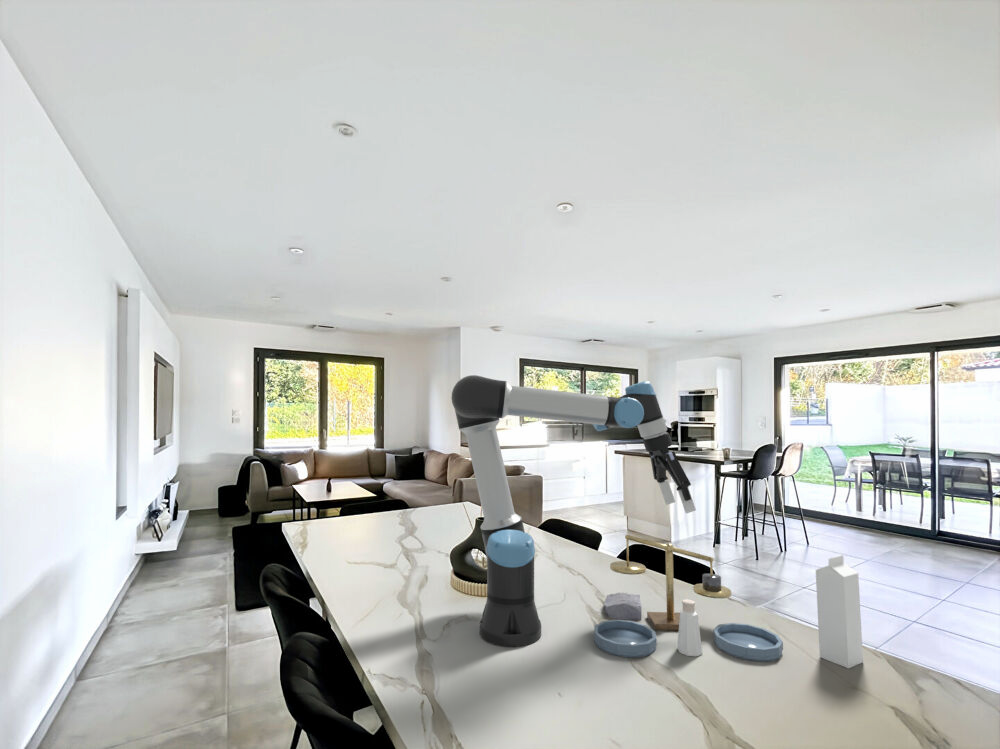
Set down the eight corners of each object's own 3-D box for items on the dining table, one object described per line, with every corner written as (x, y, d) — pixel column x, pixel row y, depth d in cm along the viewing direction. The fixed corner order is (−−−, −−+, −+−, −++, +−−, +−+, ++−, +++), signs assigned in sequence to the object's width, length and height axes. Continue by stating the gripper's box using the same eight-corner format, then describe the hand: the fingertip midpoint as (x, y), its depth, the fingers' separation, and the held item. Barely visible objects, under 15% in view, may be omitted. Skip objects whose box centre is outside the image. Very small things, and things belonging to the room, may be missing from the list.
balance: (614, 630, 125) (613, 538, 127) (608, 616, 134) (607, 530, 136) (738, 633, 123) (735, 540, 125) (724, 618, 132) (721, 532, 134)
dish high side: (582, 643, 117) (582, 632, 117) (613, 626, 127) (613, 615, 127) (638, 663, 108) (637, 651, 108) (666, 642, 118) (666, 631, 118)
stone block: (607, 625, 132) (645, 620, 131) (603, 606, 133) (641, 601, 131) (606, 610, 144) (642, 606, 142) (603, 593, 145) (638, 588, 143)
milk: (863, 662, 109) (858, 558, 111) (848, 669, 106) (844, 562, 108) (833, 651, 114) (829, 551, 116) (818, 657, 111) (814, 555, 113)
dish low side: (705, 647, 116) (705, 635, 116) (726, 629, 126) (726, 618, 126) (772, 668, 106) (771, 655, 106) (789, 646, 116) (788, 634, 117)
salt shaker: (700, 659, 110) (698, 607, 111) (674, 652, 113) (673, 602, 114) (704, 649, 115) (703, 599, 116) (680, 643, 117) (678, 595, 118)
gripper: (685, 431, 130) (713, 510, 129) (651, 429, 155) (674, 496, 154) (659, 441, 130) (687, 520, 128) (629, 437, 154) (652, 504, 153)
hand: (680, 507), depth 141 cm, fingers open, 13 cm apart
